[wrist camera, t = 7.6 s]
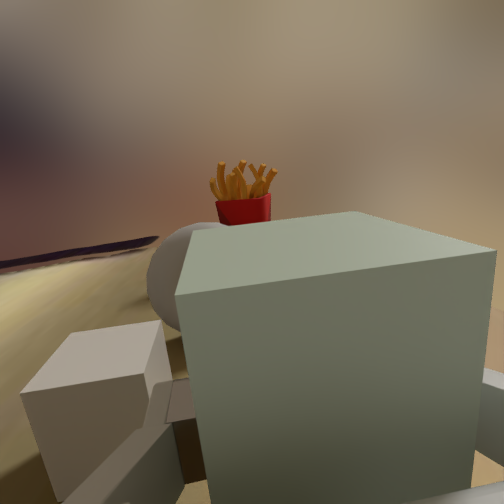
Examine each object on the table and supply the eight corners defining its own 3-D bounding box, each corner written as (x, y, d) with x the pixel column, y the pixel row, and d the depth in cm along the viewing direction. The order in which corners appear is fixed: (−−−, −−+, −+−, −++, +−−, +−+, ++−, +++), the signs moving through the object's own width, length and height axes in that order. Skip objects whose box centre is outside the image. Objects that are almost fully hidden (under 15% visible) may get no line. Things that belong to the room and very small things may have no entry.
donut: (260, 311, 31) (250, 211, 29) (273, 326, 28) (263, 216, 25) (157, 337, 28) (135, 229, 26) (159, 357, 25) (134, 236, 22)
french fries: (237, 256, 51) (225, 161, 47) (287, 255, 49) (279, 155, 45) (217, 275, 43) (201, 163, 39) (275, 275, 41) (265, 155, 37)
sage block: (247, 706, 7) (174, 295, 4) (232, 489, 12) (192, 230, 9) (452, 649, 8) (496, 250, 5) (358, 463, 12) (354, 211, 10)
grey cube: (57, 502, 14) (19, 393, 13) (95, 420, 19) (71, 333, 18) (167, 480, 15) (143, 373, 13) (177, 405, 20) (161, 319, 18)
